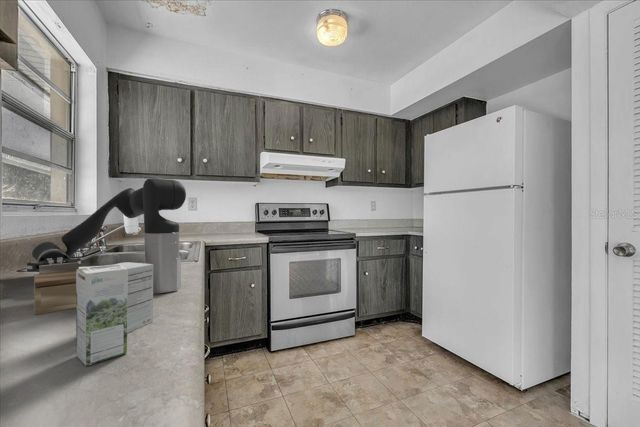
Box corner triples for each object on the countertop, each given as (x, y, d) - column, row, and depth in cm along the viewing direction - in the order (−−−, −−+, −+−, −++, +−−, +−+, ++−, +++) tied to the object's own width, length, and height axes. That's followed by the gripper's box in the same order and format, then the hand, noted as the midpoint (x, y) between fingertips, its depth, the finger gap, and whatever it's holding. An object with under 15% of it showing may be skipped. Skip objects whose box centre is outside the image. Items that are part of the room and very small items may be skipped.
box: (34, 303, 76) (33, 279, 76) (83, 295, 83) (83, 274, 83) (34, 314, 68) (34, 288, 68) (90, 305, 75) (89, 281, 75)
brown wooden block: (33, 277, 78) (33, 266, 77) (82, 272, 85) (82, 261, 85) (34, 287, 68) (34, 274, 68) (89, 280, 75) (89, 268, 75)
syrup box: (116, 344, 53) (116, 262, 53) (128, 354, 49) (128, 266, 49) (75, 356, 49) (75, 267, 48) (85, 368, 45) (84, 272, 45)
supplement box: (94, 331, 59) (93, 267, 59) (128, 318, 66) (127, 261, 66) (122, 335, 57) (122, 269, 56) (154, 321, 64) (154, 263, 64)
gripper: (79, 269, 102) (86, 278, 89) (25, 275, 92) (24, 285, 80) (79, 247, 101) (85, 253, 89) (24, 251, 92) (23, 258, 80)
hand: (56, 268), depth 84 cm, fingers closed
